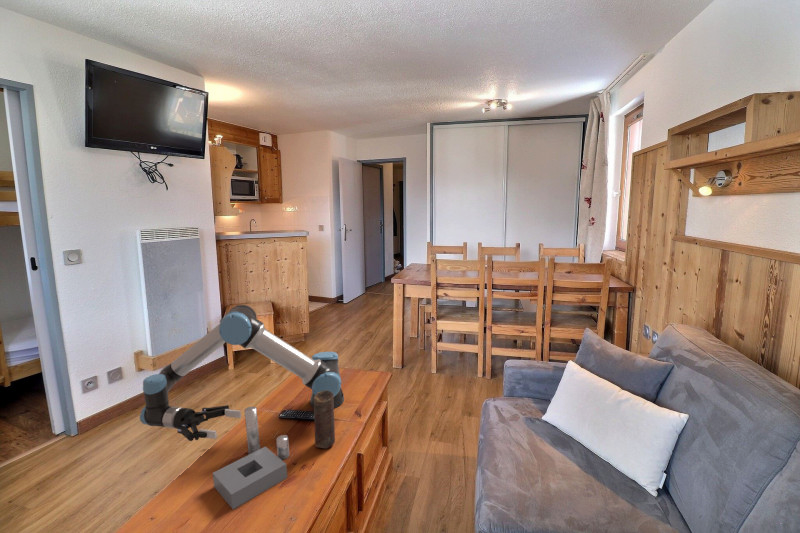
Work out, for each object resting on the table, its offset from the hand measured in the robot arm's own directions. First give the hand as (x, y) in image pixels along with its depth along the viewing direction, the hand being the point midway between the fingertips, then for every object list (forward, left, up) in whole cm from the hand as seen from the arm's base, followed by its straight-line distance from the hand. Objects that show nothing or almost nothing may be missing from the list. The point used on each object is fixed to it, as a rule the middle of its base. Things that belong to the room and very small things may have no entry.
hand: (228, 424), depth 140 cm
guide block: (+3, +22, -10) cm, 25 cm away
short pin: (-11, +18, -10) cm, 24 cm away
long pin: (-5, +8, -10) cm, 14 cm away
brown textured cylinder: (-25, +24, -10) cm, 36 cm away
